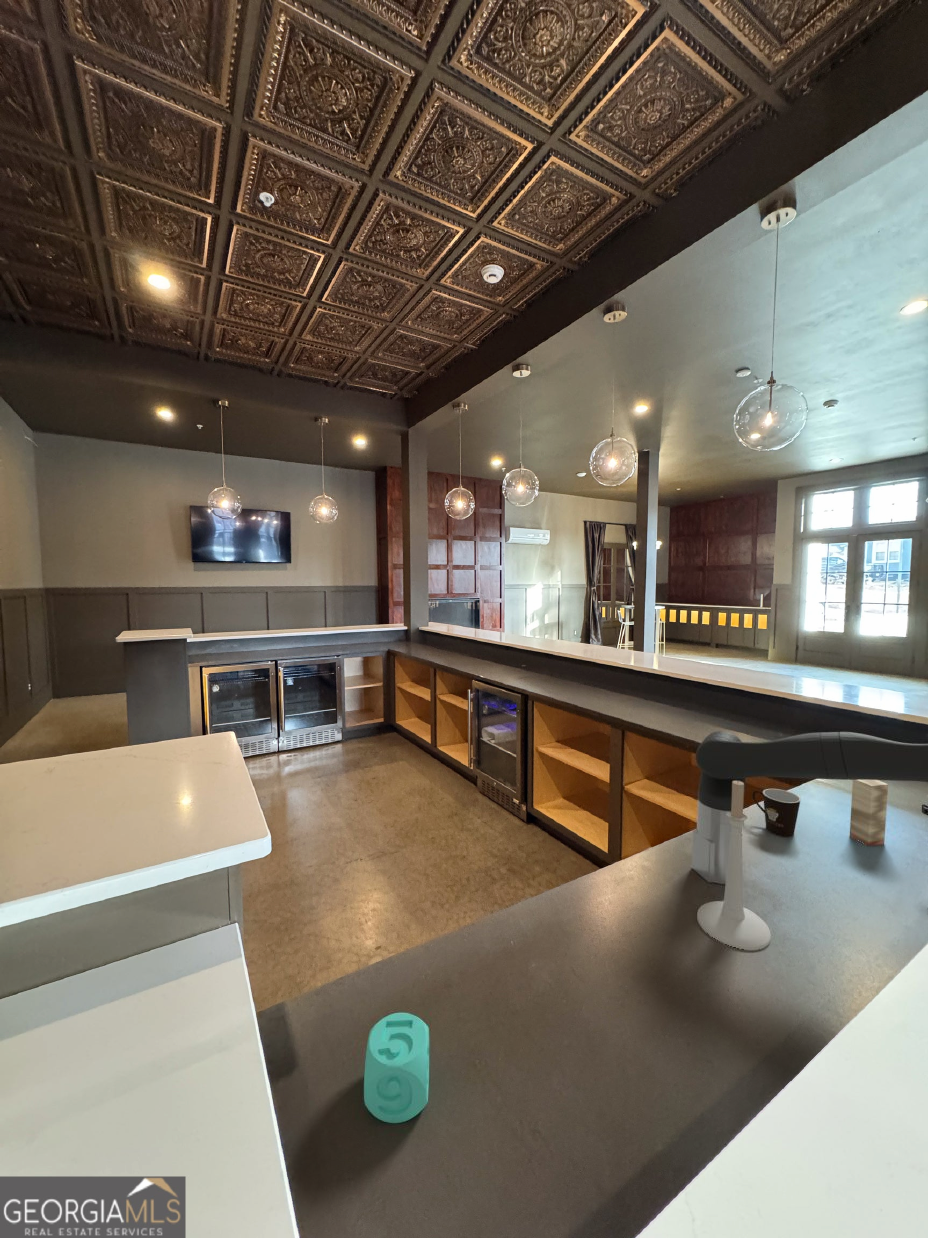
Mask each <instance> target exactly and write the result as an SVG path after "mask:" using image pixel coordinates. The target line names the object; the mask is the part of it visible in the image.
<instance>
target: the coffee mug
mask: <svg viewBox="0 0 928 1238" xmlns="http://www.w3.org/2000/svg"><path fill="white" fill-rule="evenodd" d="M757 793H758V794H761V796H762V799H763V807H762V806H761V804H759V802H758V801H757V799H756V794H757ZM752 799H753V801H754V803H755V804H756V806H757V807H758V808H759V809H760V810H761V811H762V812H763V813H764V819H765V820H764V821H765V828H766V830H767V832H769V833H770V834H772V835H775V836H778V837H783V838H792V837H794V835H795V830H796V824H797V820H798V815H799V810H800V805H801V797H800V796H799V795H797V794H796V793H794V792H791V791H788V790H785V789H779V788H767V789H766V788H765V789H764V790H763V791H761V790H754V791H753V792H752Z"/></svg>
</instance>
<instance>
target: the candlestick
mask: <svg viewBox="0 0 928 1238" xmlns="http://www.w3.org/2000/svg"><path fill="white" fill-rule="evenodd" d="M744 797H745V791H744V783H743V782H740V781H733V782H732V805H731V811H730V812H727V816H728V817H729V818H730V819H729V823H730V824H731V827H732V831H731V832H730V844H729V854H728V864H727V874H726V884H724V885H725V887H724V894H723V895H724V896H723V900H722V901H721V900H717V901H716V900H715V901H709V902H706V903H704V904H702V905H701V906H699V908H698V910H697V911H696V912H697V914H696V919H697V922H698V924H699V926H700V928H701V929H702V931H704V932H705V933H706V934H707V933H708V934H709V937H710V938H712V937H713V938H712V939H714V938H715V939H716V940H715V939H714V940H715V941H717V940H719V941H721V942H723V943H724V944H723V943H722V944H723V945H725V944H727V945H729V946H728V947H730V946H732V947H731V948H733V947H736V948H735V949H737V948H739V949H738V950H741V949H744V950H743V951H759V949H760V950H763V949H764V948H767V947H768V946H769V945H770V943H771V938H772V936H771V930H770V928H769V926H768V924H767V923H766V922H765V921H764V920H763V919H762V918H761V917H760V916H759V915H758V914H756V913H755V912H753V911H752V910H750V909H748V907H747V908H746V907H745V905H744V873H743V872H744V870H743V869H744V867H743V865H744V864H743V833H742V834H741V829H742V830H743V827H745V821H746V820H748V816H747V815H746V814H745V813H744ZM708 934H707V935H708ZM719 941H718V942H719ZM721 942H720V943H721ZM727 945H726V946H727Z"/></svg>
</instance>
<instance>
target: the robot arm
mask: <svg viewBox="0 0 928 1238" xmlns="http://www.w3.org/2000/svg"><path fill="white" fill-rule="evenodd" d="M695 762H696V765H697V767H698V768H699V770H701V774H700V779H699V783H698V787H697V789H698V790H697V813H696V815H697V816H696V817H697V818H696V828H695V829H693V830H692V848H691V849H692V850H691V851H692V853H691V855H692V857H691V860H692V861H691V868H692V869H693V870H694V871H695V872H696V873H697V874H698V875H700V876H701V877H702V878H703V879H704V880H705V881H706V882H708V883H710V884H711V883H716V884H719V885H726V874H727V864H728V854H729V844H730V832H731V831H732V827H731V824H730V823H729V819H730V818H729V817H728V816H727V812H730V811H731V805H732V782H733V781H740V782H743V783H744V792H745V790H746V779H747V778H767V777H770V778H774V777H776V778H788V779H789V778H791V779H792V778H793V779H818V780H819V779H820V780H843V781H847V780H850V781H853V780H878V781H890V782H891V781H897V782H901V781H902V782H920V783H921V782H923V783H924V782H925V783H928V743H908V742H907V743H906V742H899V741H896V740H895V741H894V740H890V739H886V738H881V737H877V736H875V735H874V736H873V735H869V734H865V733H861V732H860V733H858V732H853V731H852V732H851V731H828V732H825V731H824V732H809V733H807V732H806V733H802V734H795V735H792V736H788V737H783V738H779V739H778V738H777V739H775V740H767V741H757V742H756V741H742V740H741V739H740V737H738V736H737V735H735V734H734V733H732V732H729V731H725V730H718V731H717V730H716V731H714V732H713V731H712V732H711V733H710V734H708V735H707V736H706V737H705V738H704V739H703V740H702V742H701V743H700V744H699V746H698V747H697V750H696V753H695ZM921 813H922V814H923V815H925V816H928V803H925V804H921ZM742 830H743V828H742V829H741V834H742V835H743V833H742V832H743V831H742Z"/></svg>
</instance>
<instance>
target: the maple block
mask: <svg viewBox="0 0 928 1238" xmlns="http://www.w3.org/2000/svg"><path fill="white" fill-rule="evenodd" d="M851 791H852V792H851V806H850V807H851V808H850V820H849V821H850V823H849V837H850V836H851V837H850V838H852V839H854V838H855V839H857V840H859V841H861V842H863V843H864V845H865V844H866V845H865V846H867V847H873V846H880V845H885V838H886V823H887V809H888V806H887V805H888V794H889V793H888V792H889V784H888V783H886V782H883V781H882V780H852V788H851ZM855 839H854V840H855ZM857 840H856V841H857ZM859 841H858V842H859ZM861 842H860V843H861ZM863 843H862V844H863Z"/></svg>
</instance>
